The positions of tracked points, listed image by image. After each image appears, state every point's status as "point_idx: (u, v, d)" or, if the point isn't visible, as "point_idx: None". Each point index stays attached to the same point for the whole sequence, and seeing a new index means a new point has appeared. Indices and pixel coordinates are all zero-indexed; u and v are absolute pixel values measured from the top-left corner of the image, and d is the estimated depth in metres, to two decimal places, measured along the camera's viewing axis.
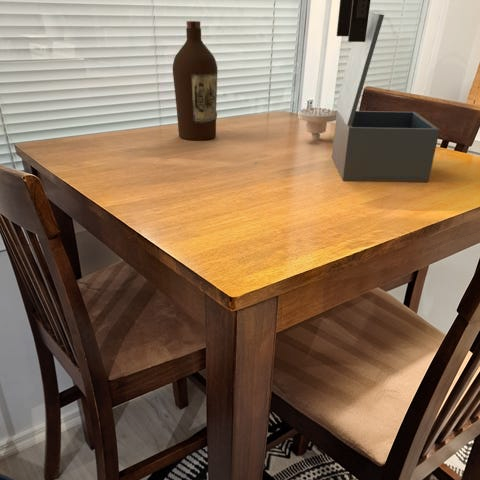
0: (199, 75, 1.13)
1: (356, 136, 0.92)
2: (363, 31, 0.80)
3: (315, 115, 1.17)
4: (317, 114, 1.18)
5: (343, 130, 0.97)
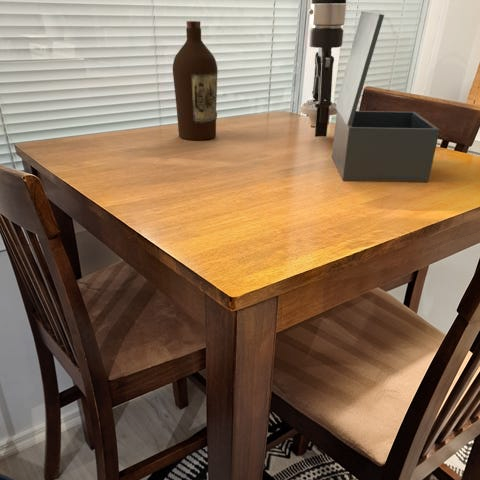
0: (199, 75, 1.13)
1: (356, 136, 0.92)
2: (325, 130, 1.18)
3: None
4: None
5: (343, 130, 0.97)
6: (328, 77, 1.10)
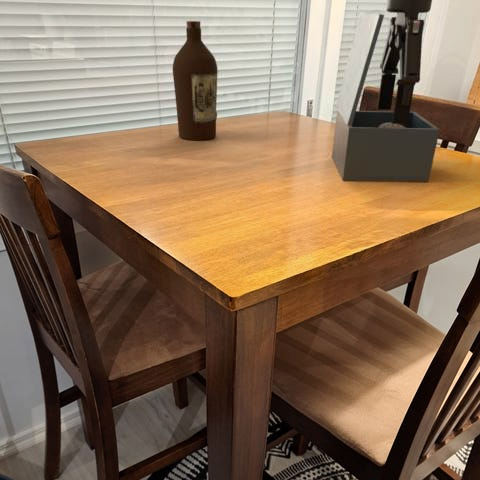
0: (199, 75, 1.13)
1: (356, 136, 0.92)
2: (406, 115, 0.91)
3: None
4: None
5: (343, 130, 0.97)
6: (416, 45, 0.84)
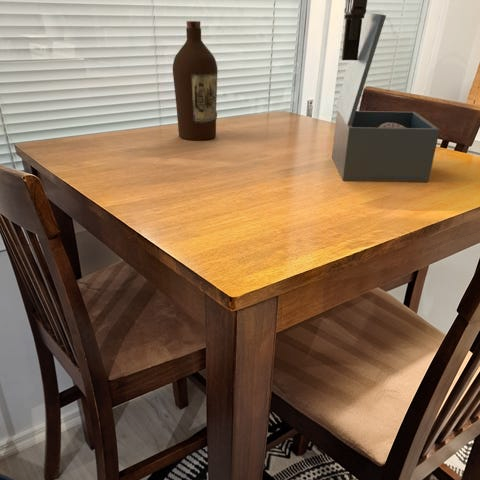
0: (199, 75, 1.13)
1: (356, 136, 0.92)
2: (355, 51, 0.91)
3: None
4: None
5: (343, 130, 0.97)
6: None
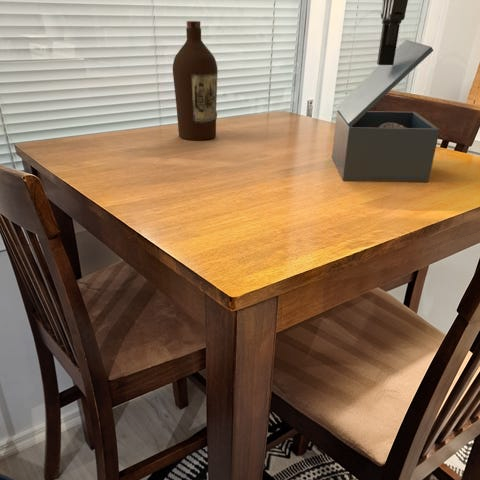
0: (199, 75, 1.13)
1: (356, 136, 0.92)
2: (392, 56, 0.91)
3: None
4: None
5: (343, 130, 0.97)
6: None
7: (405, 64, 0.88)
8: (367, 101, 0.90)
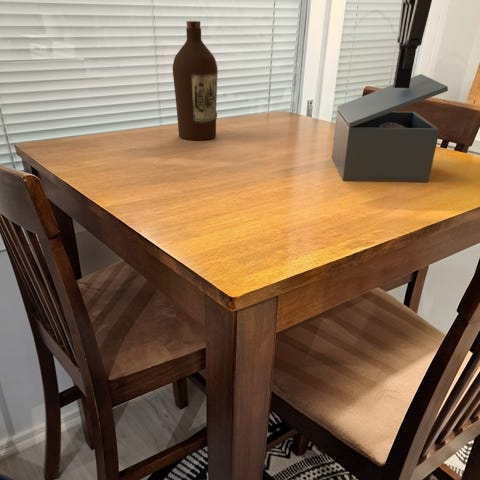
0: (199, 75, 1.13)
1: (356, 136, 0.92)
2: (408, 79, 0.93)
3: None
4: None
5: (343, 130, 0.97)
6: (424, 9, 0.83)
7: (418, 92, 0.90)
8: (373, 111, 0.91)
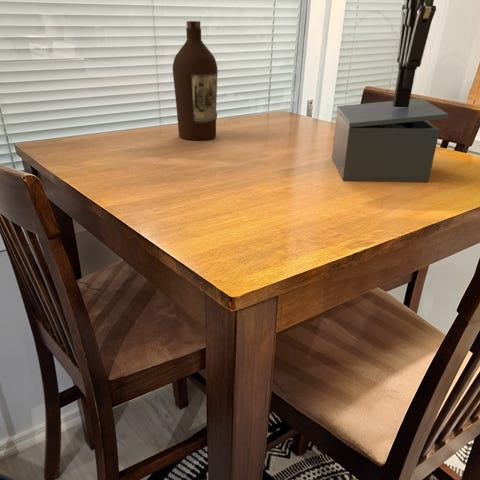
0: (199, 75, 1.13)
1: (356, 136, 0.92)
2: (407, 98, 0.95)
3: None
4: None
5: (343, 130, 0.97)
6: (423, 32, 0.85)
7: (419, 112, 0.92)
8: (374, 118, 0.92)
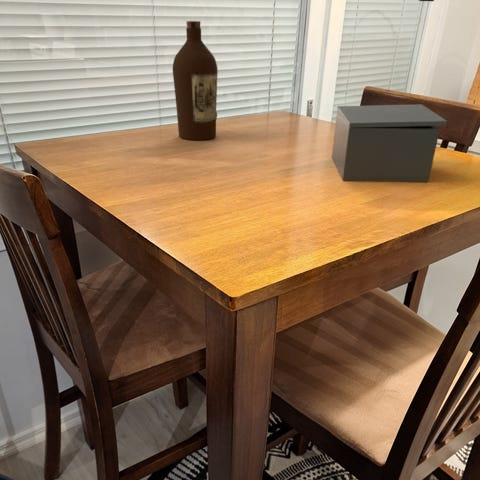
0: (199, 75, 1.13)
1: (356, 136, 0.92)
2: None
3: None
4: None
5: (343, 130, 0.97)
6: None
7: (419, 118, 0.92)
8: (374, 120, 0.92)
